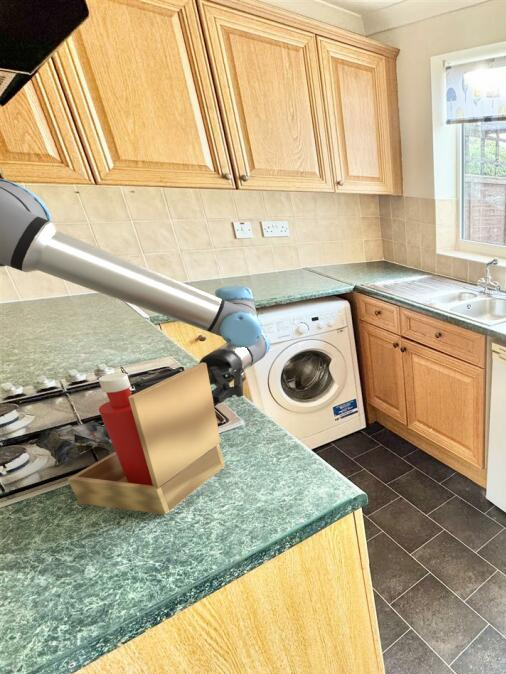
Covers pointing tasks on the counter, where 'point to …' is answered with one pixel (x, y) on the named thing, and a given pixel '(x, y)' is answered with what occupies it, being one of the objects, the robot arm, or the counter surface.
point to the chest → (114, 490)
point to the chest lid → (176, 422)
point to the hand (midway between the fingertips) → (162, 407)
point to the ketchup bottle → (123, 428)
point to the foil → (74, 441)
